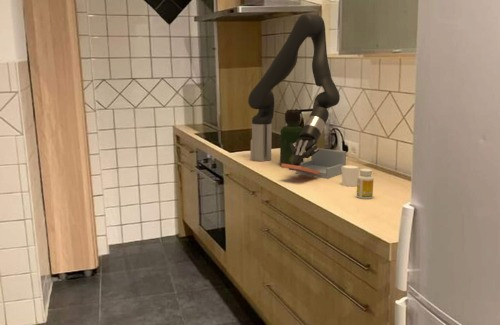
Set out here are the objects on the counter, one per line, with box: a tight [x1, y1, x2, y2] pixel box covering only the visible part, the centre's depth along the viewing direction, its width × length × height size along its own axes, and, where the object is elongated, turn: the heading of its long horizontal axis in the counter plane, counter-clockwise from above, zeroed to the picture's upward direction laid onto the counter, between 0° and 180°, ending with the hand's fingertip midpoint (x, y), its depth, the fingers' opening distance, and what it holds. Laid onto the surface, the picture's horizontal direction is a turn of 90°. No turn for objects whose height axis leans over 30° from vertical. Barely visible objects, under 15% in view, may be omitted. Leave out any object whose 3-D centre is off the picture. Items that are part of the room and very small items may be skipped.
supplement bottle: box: [356, 168, 375, 200], centre depth 175 cm, size 5×5×10 cm
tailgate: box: [280, 164, 320, 175], centre depth 200 cm, size 2×9×15 cm
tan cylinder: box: [341, 164, 361, 187], centre depth 193 cm, size 7×7×7 cm
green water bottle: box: [279, 109, 305, 166], centre depth 226 cm, size 10×10×25 cm
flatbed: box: [295, 147, 347, 179], centre depth 213 cm, size 15×15×9 cm
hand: (295, 164), depth 196 cm, fingers closed
